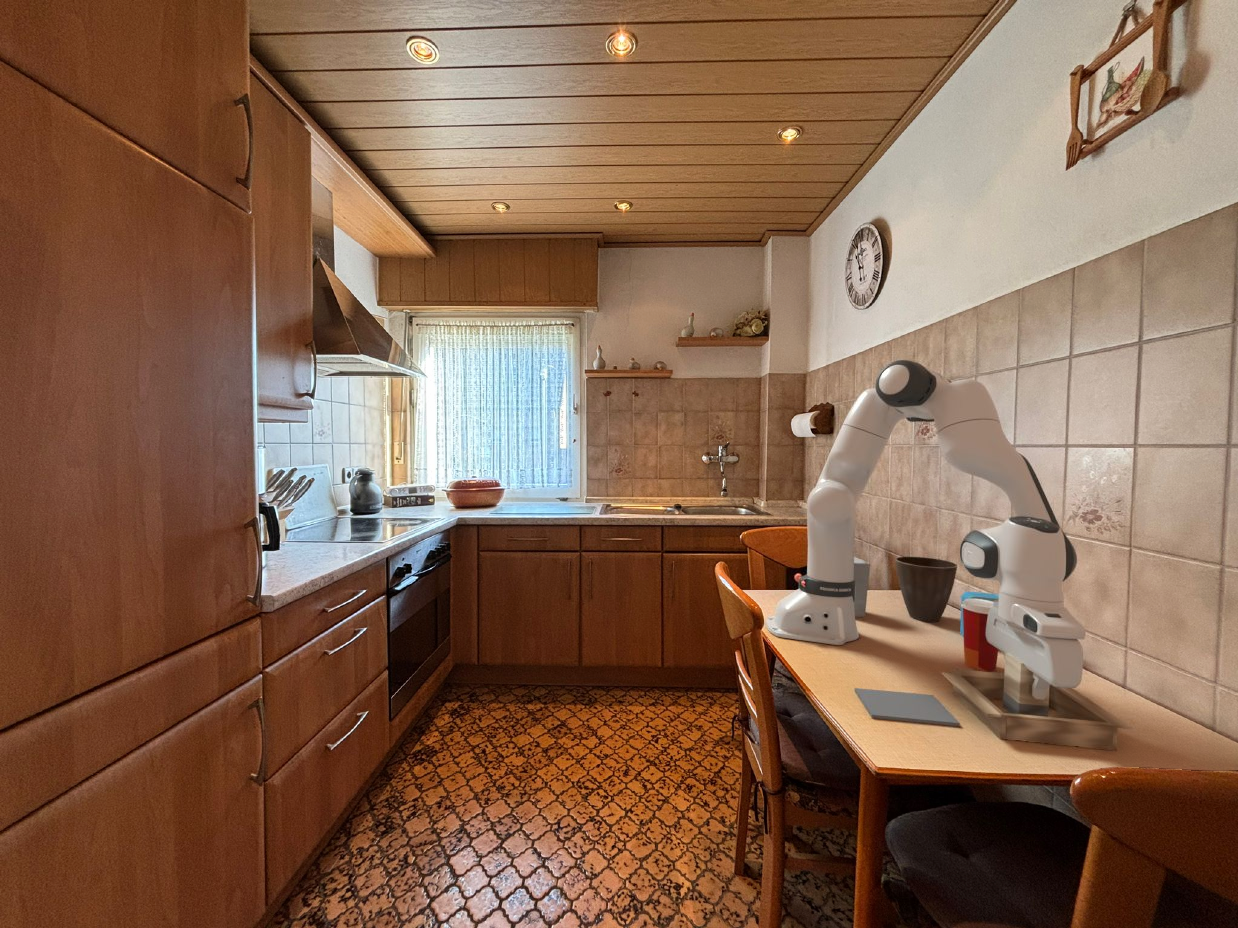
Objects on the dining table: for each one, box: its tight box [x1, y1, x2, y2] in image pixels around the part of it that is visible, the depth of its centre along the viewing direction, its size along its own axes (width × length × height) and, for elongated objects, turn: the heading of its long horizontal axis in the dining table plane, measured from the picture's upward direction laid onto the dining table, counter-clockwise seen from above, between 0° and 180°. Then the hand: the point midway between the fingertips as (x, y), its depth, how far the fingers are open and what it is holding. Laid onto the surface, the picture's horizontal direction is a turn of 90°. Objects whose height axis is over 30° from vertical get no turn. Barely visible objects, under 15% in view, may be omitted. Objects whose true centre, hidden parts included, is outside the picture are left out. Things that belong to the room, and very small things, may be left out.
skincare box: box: [854, 556, 871, 618], centre depth 146 cm, size 8×7×16 cm
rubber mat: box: [854, 687, 961, 727], centre depth 91 cm, size 14×10×1 cm
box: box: [1002, 653, 1050, 717], centre depth 88 cm, size 4×4×10 cm
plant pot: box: [895, 556, 958, 623], centre depth 142 cm, size 15×15×16 cm
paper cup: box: [960, 599, 999, 672], centre depth 110 cm, size 8×8×14 cm
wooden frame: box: [941, 668, 1133, 752], centre depth 89 cm, size 21×18×4 cm
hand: (1025, 689), depth 88 cm, fingers closed on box, 4 cm apart
